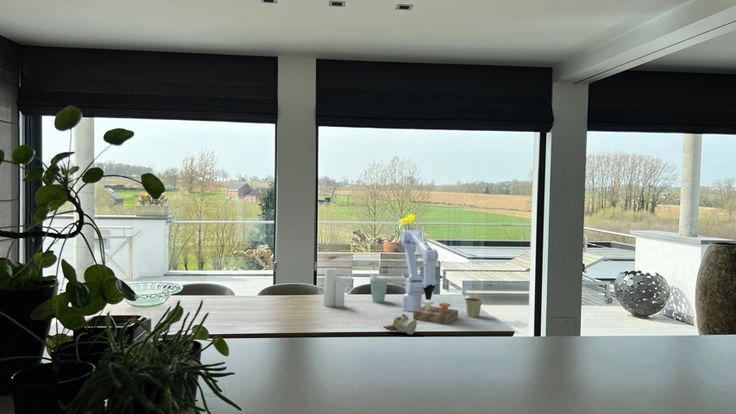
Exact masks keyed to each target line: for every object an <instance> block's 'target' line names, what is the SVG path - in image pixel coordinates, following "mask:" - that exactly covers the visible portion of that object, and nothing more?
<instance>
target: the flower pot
mask: <svg viewBox="0 0 736 414" xmlns="http://www.w3.org/2000/svg"><path fill="white" fill-rule="evenodd" d="M464 301H465V304H466V305H465V306H466V315H467V316H468V317H472V318H477V317H480V311H481V308H482V307H481V306H482V304H483V301H484V300H483V299H481V298H479V297H477V298H476V297H466V298H464Z"/></svg>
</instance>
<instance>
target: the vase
mask: <svg viewBox="0 0 736 414" xmlns="http://www.w3.org/2000/svg"><path fill="white" fill-rule="evenodd" d="M337 274H338V269H337V268H335V267H326V268H324V287H323V289H324V290H323V306H325V307H337V308H343V307H345V294H346V293H345V292H346V291H345V289H346V287H345V286H346V281H345V280H342V277H341V276H339V275H337Z"/></svg>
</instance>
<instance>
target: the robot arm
mask: <svg viewBox="0 0 736 414" xmlns="http://www.w3.org/2000/svg"><path fill="white" fill-rule="evenodd" d="M421 236H422V233H421V232H420V230H419V229H411V230H410V229H402V230H401V232H400V242H401V243H400V244H401V246H402V247H403V250H404V254H405V261H406V265H407V272H408V277H407V279H405V287H404V289H405V293H404V295H403V302H402V311H405V312H413V313H414V311H415V310H417V309H419V308H421V307H422V305H423V304H422V303H423V301H422V300H423V295H424V296H425V300H428V301H432V300H431V299H432V296H433V293H434V290H435V288H436V285H437V279H436V262H437V261H438V259H439V253H438V250H437V249H433V248H432V247H431V246H430V244H429V243H428V242H427V241H424V240H423V239H422V238H423V237H421ZM415 247H417V249H418V250H419V252H420V253H421V255H422V262H423V263H422V264H423V277H421V276H420V275H419V271H418V266H417V258H416V253H415Z"/></svg>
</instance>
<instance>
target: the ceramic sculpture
mask: <svg viewBox="0 0 736 414" xmlns="http://www.w3.org/2000/svg"><path fill="white" fill-rule="evenodd" d="M392 321H393V323H392V324H388V325H384V326H383V328H384V329H385V330H388V331H389V332H397V333H400V332H401V333H402V334H403V333H406V334H407V335H410V336H411V335H413V334H414V333H415V332H416V329H417V326H418V325H417V324H418V321H417V320H416V319H409V316H408V315H406V314H404V313H402V315H400V316H396V317H395V318H394V319H393V320H392Z"/></svg>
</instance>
